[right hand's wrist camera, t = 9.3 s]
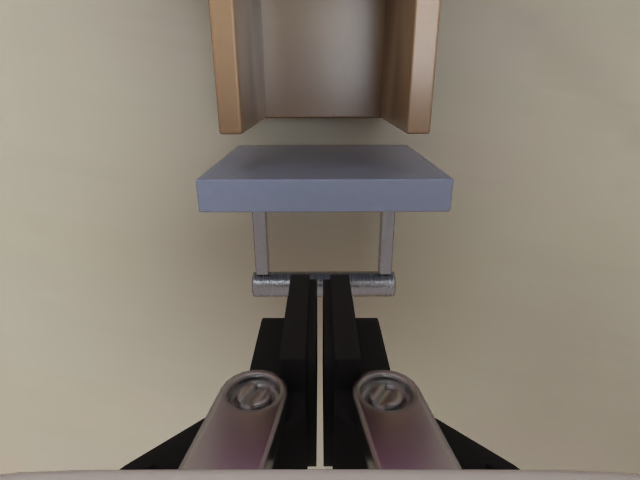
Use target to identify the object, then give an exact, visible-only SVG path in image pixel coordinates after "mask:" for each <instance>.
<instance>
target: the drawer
mask: <svg viewBox="0 0 640 480" xmlns="http://www.w3.org/2000/svg"><path fill="white" fill-rule="evenodd" d="M440 5H441V0H209V12H210V24H211V36H212V48H213V60H214V72H215V84H216V96H217V108H218V120H219V131H220V133H221V134H242V133H243V132H245V131H246V130H248V129H249V128H251V127H252V126H254V125H255V124H257V123H258V122H260V121H261V120H263V119H264V118H383V119H384V120H386V121H388V122H389V123H391V124H393V125H394V126H396V127H398V128H399V129H401V130H403V131H404V132H406V133H408V134H428V133H429V132H430V123H431V111H432V99H433V87H434V75H435V64H436V52H437V40H438V28H439V16H440ZM196 186H197V195H198V204H199V211H200V212H252V214H253V231H254V247H255V263H256V272H254V273H253V277H252V293H253V296H255V297H288V292H289V285H290V278H291V274H310V279H317V297H323V279H330V274H349V278H350V285H351V292H352V296H394V294H395V290H396V280H395V274H394V272H392V271H391V270H392V254H393V237H394V221H395V212H427V211H450V206H451V197H452V188H453V179H452V178H451V177H450V176H448V175H447V174H446V173H444V172H443V171H442V170H440V169H439V168H438V167H436V166H435V165H433V164H432V163H431V162H429V161H428V160H427V159H425V158H424V157H423V156H421V155H420V154H419V153H417V152H416V151H414V150H413V149H412V148H410V147H409V146H408V145H335V146H238V147H237V148H236V149H234V150H233V151H232V152H231V153H229V154H228V155H227V156H226V157H224V158H223V159H222V160H221V161H219V162H218V163H217V164H215V165H214V166H213V167H212V168H210V169H209V170H208V171H207V172H205V173H204V174H203V175H202V176H200V177H199V178H198V179H197V180H196ZM267 212H381V215H380V236H379V256H378V271H352V272H269V270H270V268H269V248H268V228H267Z"/></svg>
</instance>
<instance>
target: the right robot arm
mask: <svg viewBox="0 0 640 480" xmlns="http://www.w3.org/2000/svg"><path fill="white" fill-rule="evenodd" d="M316 445H317V279H310V274H291V278H290V285H289V292H288V299H287V306H286V312H285V318H263V319H262V321H261V326H260V330H259V334H258V338H257V342H256V346H255V351H254V355H253V359H252V363H251V367H250V371H245V372H242V373H240V374H237V375H235V376H233V377H232V378H230V379H229V380H228V381H226V383H225V384H224V385H223V387H222V388H221V390H220V392H219V393H218V395H217V397H216V399H215V401H214V403H213V405H212V407H211V408H210V410H209V412H208V414H207V416H206V418H204V419H202V420H201V421H199V422H197V423H196V424H194V425H192V426H191V427H189V428H187V429H186V430H184V431H182V432H181V433H179V434H177V435H176V436H174V437H172V438H171V439H169V440H167V441H166V442H164V443H162V444H161V445H159V446H157V447H156V448H154V449H152V450H151V451H149V452H147V453H146V454H144V455H142V456H140V457H139V458H137V459H135V460H134V461H132V462H130V463H129V464H127V465H125V466H124V467H123V468H121V469H120V470H69V471H42V472H17V473H8V474H0V480H640V474H632V473H623V472H598V471H571V470H520V469H519V468H517V467H516V466H515V465H513V464H511V463H510V462H508V461H506V460H505V459H503V458H501V457H500V456H498V455H496V454H494V453H493V452H491V451H489V450H488V449H486V448H484V447H483V446H481V445H479V444H478V443H476V442H474V441H473V440H471V439H469V438H468V437H466V436H464V435H463V434H461V433H459V432H458V431H456V430H454V429H453V428H451V427H449V426H448V425H446V424H444V423H443V422H441V421H439V420H438V419H436V418H434V416H433V414H432V412H431V410H430V408H429V407H428V405H427V403H426V401H425V399H424V397H423V395H422V393H421V392H420V390H419V388H418V387H417V385H416V384H415V383H414V381H412V380H411V379H410V378H408V377H407V376H405V375H403V374H400V373H398V372H395V371H390V367H389V363H388V359H387V355H386V351H385V346H384V342H383V338H382V334H381V330H380V326H379V321H378V319H377V318H355V312H354V306H353V299H352V292H351V285H350V278H349V274H330V279H323V445H324V466H333V469H307V466H316Z"/></svg>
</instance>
